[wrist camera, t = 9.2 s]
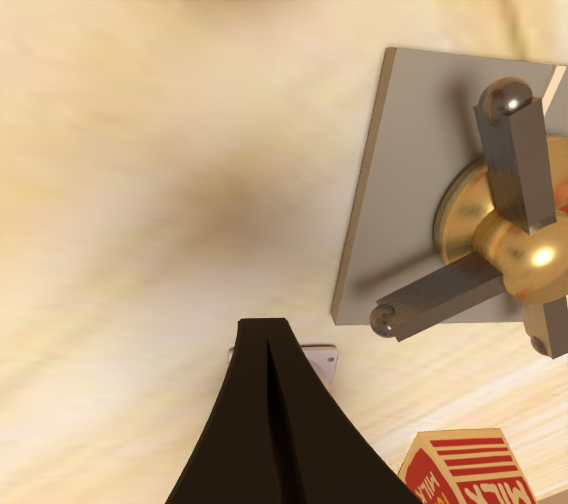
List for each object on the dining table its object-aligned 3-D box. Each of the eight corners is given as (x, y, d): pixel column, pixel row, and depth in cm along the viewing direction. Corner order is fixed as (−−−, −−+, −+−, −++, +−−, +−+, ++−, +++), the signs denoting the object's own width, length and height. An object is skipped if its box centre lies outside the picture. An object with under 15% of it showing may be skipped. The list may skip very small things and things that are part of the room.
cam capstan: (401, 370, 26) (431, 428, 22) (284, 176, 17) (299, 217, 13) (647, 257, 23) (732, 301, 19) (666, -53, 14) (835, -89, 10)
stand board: (532, 310, 26) (546, 323, 25) (330, 313, 24) (335, 327, 23) (677, 69, 18) (708, 71, 17) (389, 36, 16) (401, 35, 14)
